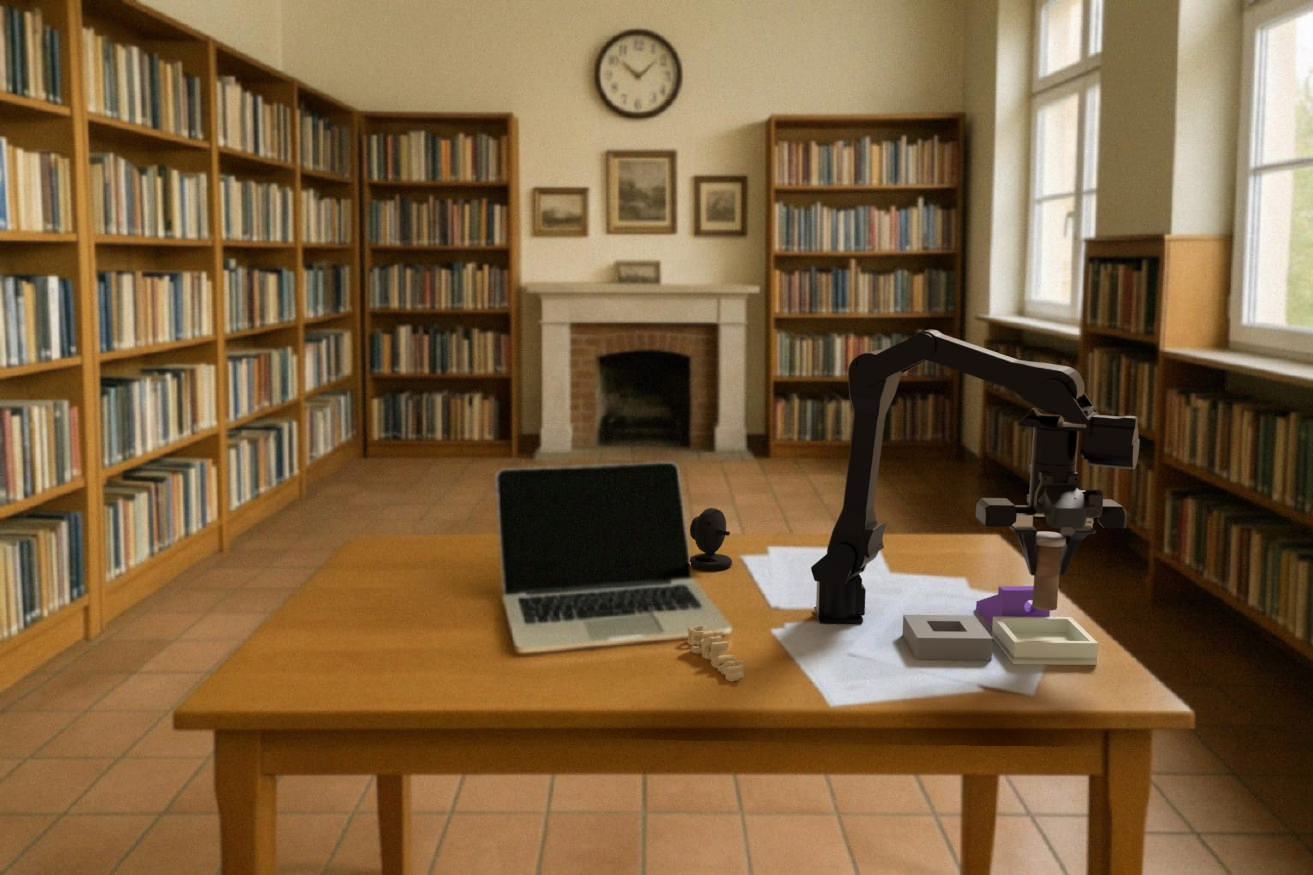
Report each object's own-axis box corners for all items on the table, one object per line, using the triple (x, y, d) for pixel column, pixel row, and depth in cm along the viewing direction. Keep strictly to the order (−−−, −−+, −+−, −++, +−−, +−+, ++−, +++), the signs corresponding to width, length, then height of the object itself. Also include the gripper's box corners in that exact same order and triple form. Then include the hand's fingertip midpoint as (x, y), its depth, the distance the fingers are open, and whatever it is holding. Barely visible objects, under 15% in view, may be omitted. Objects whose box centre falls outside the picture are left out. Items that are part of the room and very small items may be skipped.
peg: (1033, 611, 165) (1037, 539, 163) (1023, 601, 169) (1028, 531, 167) (1065, 612, 164) (1070, 539, 163) (1055, 602, 169) (1060, 531, 167)
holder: (916, 659, 164) (917, 637, 163) (902, 635, 174) (903, 614, 173) (991, 659, 164) (992, 638, 163) (973, 635, 174) (974, 615, 173)
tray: (1013, 663, 162) (1014, 642, 162) (991, 636, 173) (992, 616, 173) (1096, 664, 162) (1098, 643, 162) (1069, 637, 173) (1071, 617, 173)
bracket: (1048, 636, 175) (1051, 590, 173) (1000, 636, 174) (1003, 590, 173) (1020, 611, 186) (1023, 567, 185) (975, 611, 186) (978, 567, 185)
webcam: (704, 557, 215) (705, 501, 213) (740, 564, 210) (741, 507, 209) (679, 566, 209) (679, 509, 207) (716, 574, 204) (716, 515, 203)
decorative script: (679, 643, 171) (679, 620, 170) (704, 640, 172) (704, 617, 171) (731, 686, 155) (731, 661, 154) (758, 682, 156) (759, 657, 155)
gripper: (999, 472, 155) (993, 591, 158) (1147, 474, 155) (1138, 593, 158) (977, 456, 166) (971, 568, 169) (1115, 458, 166) (1107, 569, 169)
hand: (1046, 574), depth 166 cm, fingers closed on peg, 4 cm apart
